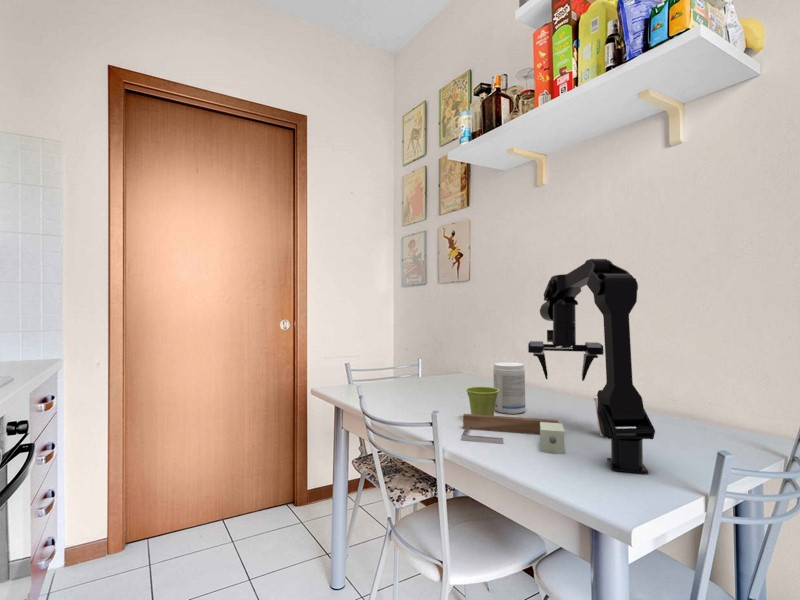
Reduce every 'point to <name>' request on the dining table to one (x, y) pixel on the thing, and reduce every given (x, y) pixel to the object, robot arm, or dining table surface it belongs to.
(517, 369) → the supplement tub
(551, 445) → the pale green block
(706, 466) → the dining table surface
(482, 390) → the plant pot
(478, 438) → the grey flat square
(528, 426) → the long brown board
